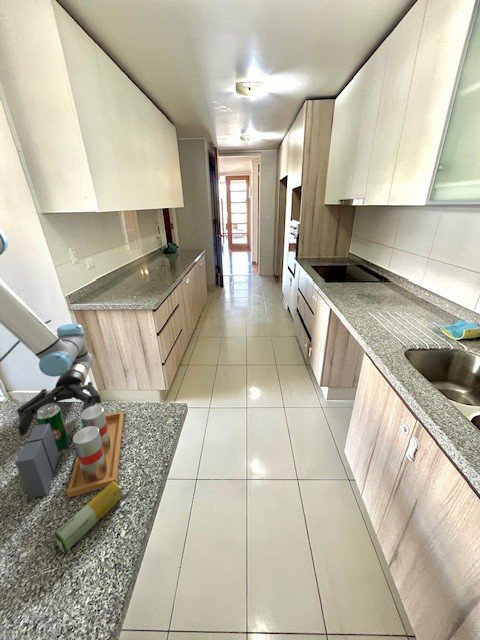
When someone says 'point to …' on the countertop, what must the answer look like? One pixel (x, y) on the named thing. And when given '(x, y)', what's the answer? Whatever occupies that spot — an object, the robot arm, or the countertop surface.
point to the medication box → (87, 517)
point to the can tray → (112, 458)
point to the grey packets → (38, 460)
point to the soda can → (54, 423)
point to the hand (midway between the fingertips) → (52, 424)
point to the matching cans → (92, 444)
